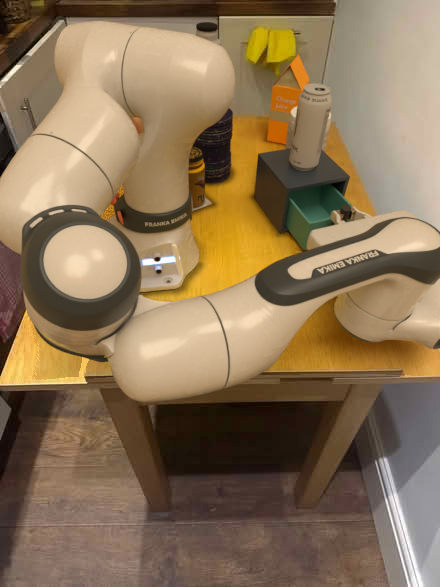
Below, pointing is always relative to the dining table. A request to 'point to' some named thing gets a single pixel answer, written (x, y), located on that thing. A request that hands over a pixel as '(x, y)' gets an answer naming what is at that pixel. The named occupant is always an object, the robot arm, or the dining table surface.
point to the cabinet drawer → (314, 210)
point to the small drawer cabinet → (291, 182)
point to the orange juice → (285, 99)
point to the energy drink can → (310, 126)
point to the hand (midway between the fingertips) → (341, 211)
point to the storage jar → (217, 149)
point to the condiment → (197, 179)
